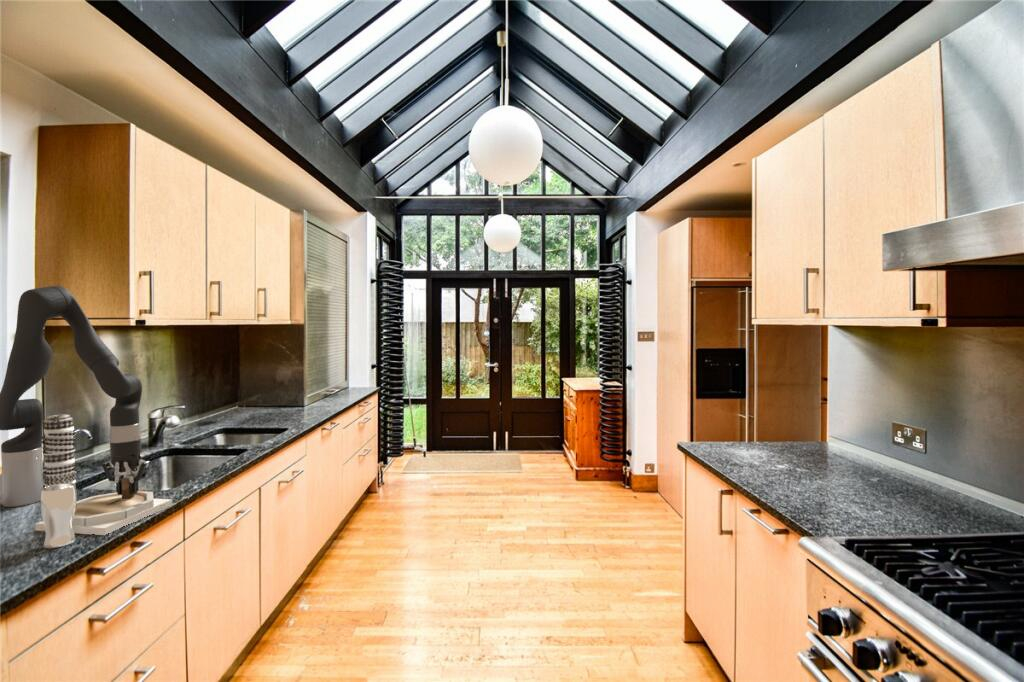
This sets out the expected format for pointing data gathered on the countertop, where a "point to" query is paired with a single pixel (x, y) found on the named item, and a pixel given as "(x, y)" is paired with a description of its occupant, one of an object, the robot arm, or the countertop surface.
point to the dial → (110, 502)
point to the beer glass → (58, 514)
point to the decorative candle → (59, 450)
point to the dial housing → (115, 515)
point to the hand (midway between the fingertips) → (127, 493)
